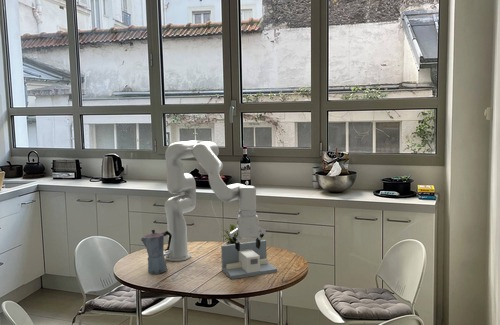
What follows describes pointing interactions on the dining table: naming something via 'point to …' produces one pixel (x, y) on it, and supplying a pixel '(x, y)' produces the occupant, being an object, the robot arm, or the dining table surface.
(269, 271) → the cleat board
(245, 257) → the cream rectangular block
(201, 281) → the dining table surface
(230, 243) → the house plant
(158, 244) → the moka pot
